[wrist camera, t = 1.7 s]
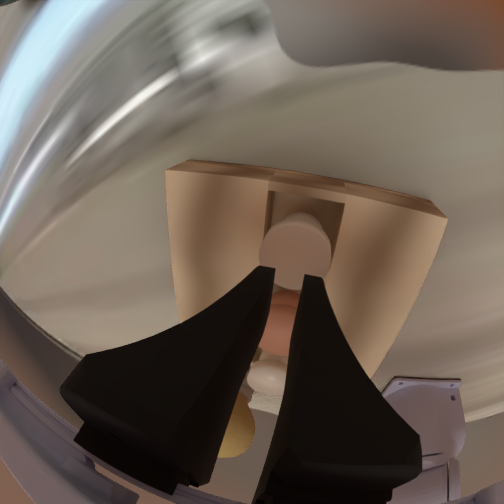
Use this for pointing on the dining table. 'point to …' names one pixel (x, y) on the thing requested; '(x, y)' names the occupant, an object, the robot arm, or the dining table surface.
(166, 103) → the dining table surface
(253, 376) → the plug far
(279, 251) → the plug near
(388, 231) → the socket board
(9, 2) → the vase
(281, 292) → the plug mid
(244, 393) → the light bulb
